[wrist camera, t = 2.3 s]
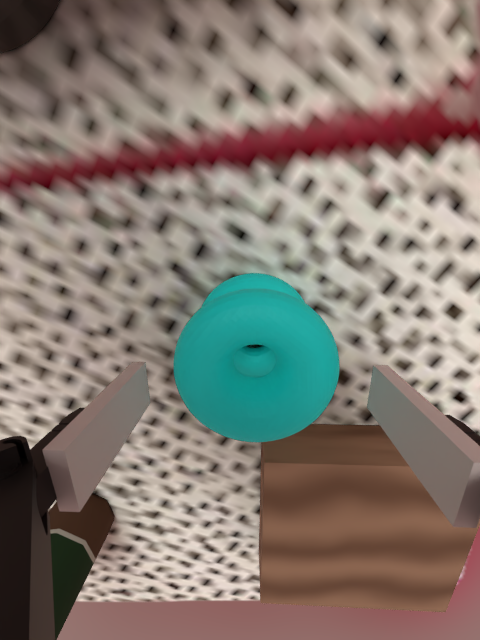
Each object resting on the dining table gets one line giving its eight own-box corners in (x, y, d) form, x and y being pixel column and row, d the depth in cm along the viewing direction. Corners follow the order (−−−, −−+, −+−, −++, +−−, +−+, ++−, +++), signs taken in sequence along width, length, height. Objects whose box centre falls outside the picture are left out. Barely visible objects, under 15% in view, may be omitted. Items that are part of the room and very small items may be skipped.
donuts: (243, 252, 12) (386, 373, 14) (246, 247, 21) (330, 318, 23) (133, 390, 14) (264, 478, 16) (180, 331, 24) (259, 390, 26)
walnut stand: (261, 423, 27) (264, 462, 22) (455, 427, 26) (501, 469, 21) (259, 550, 33) (260, 602, 28) (416, 556, 32) (445, 612, 27)
